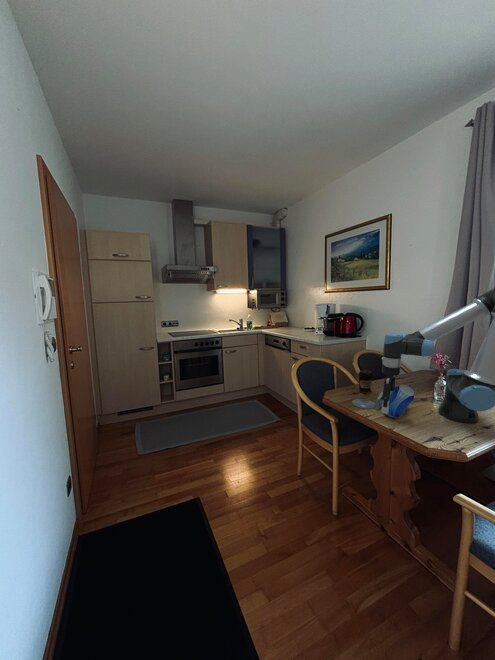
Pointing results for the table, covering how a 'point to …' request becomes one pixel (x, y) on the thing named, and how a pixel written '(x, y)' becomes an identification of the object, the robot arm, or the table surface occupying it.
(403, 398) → the beer can
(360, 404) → the flat grey disc
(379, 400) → the rack
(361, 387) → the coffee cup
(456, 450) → the table surface
